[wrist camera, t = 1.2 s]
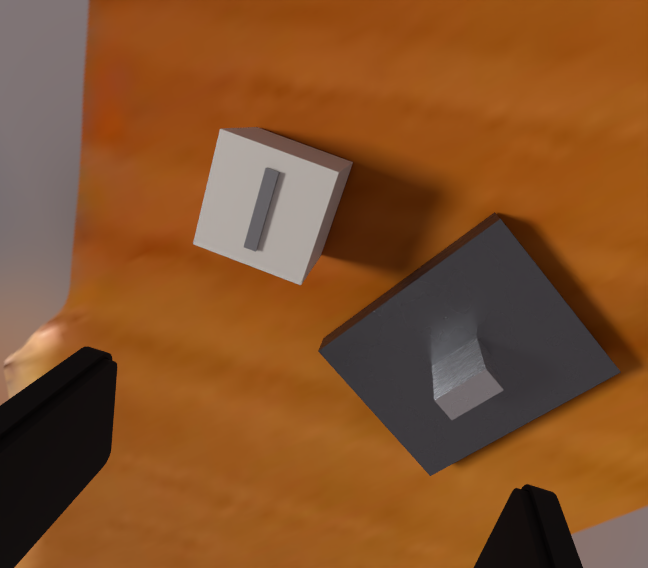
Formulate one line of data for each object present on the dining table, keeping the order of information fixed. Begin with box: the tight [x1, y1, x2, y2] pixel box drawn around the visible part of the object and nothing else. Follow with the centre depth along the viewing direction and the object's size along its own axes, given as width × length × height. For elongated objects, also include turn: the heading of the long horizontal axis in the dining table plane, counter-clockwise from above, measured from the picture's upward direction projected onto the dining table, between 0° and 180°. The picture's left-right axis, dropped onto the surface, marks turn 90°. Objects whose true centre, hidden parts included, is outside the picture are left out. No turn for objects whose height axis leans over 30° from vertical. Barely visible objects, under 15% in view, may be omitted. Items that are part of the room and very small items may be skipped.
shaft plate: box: [319, 213, 620, 476], centre depth 29 cm, size 14×12×6 cm
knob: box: [193, 127, 353, 285], centre depth 27 cm, size 6×6×6 cm
